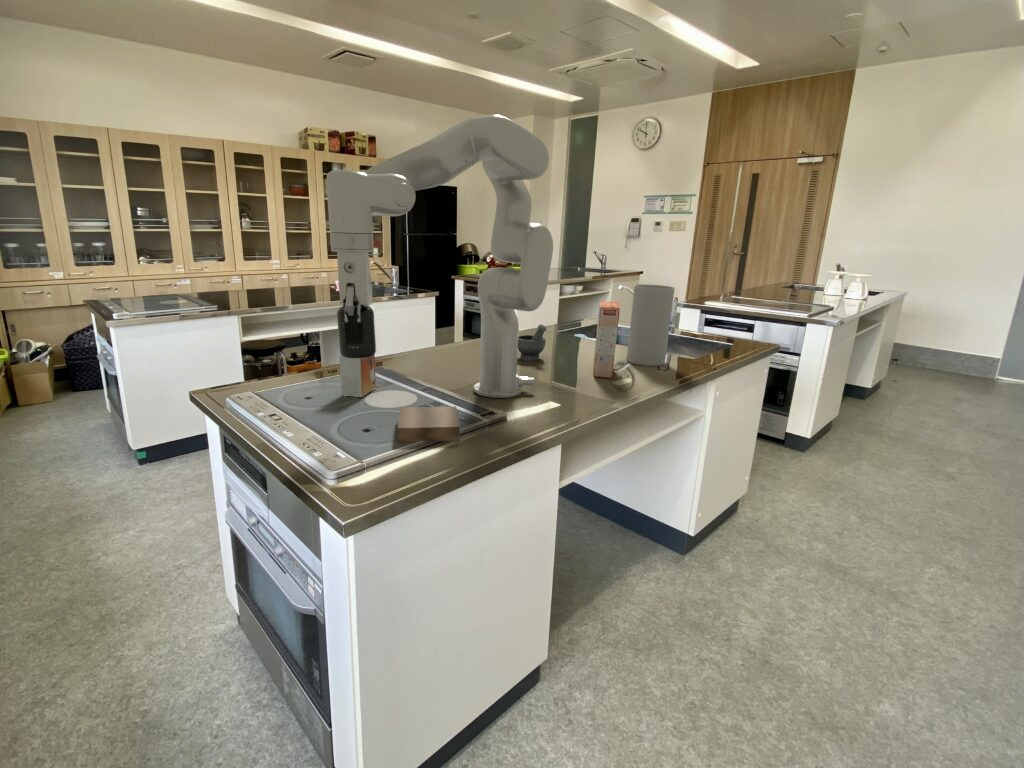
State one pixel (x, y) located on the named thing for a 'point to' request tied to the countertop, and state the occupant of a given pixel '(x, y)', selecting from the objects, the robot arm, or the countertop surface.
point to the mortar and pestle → (532, 344)
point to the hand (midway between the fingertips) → (357, 338)
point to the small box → (357, 375)
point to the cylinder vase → (650, 324)
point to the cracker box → (606, 339)
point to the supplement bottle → (368, 333)
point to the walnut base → (428, 424)
